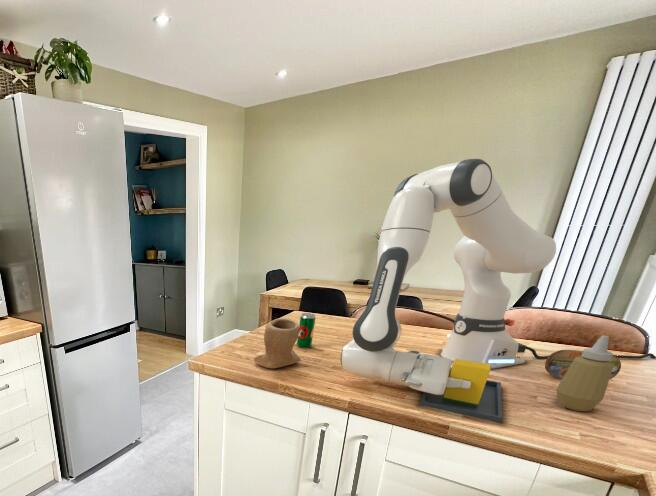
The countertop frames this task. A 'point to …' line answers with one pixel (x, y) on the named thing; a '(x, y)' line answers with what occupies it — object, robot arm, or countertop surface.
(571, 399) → the squeeze bottle
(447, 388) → the sponge
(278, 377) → the countertop surface
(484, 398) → the tray
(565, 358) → the tin
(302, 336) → the soda can
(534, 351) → the robot arm
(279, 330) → the stone cup
